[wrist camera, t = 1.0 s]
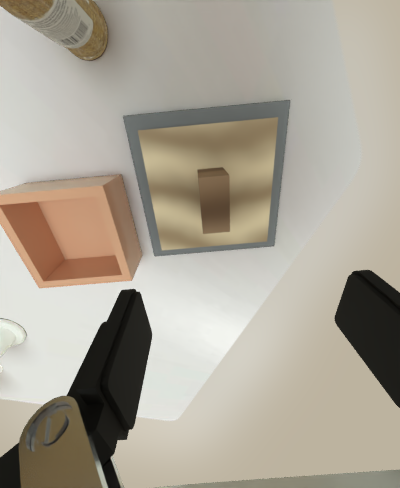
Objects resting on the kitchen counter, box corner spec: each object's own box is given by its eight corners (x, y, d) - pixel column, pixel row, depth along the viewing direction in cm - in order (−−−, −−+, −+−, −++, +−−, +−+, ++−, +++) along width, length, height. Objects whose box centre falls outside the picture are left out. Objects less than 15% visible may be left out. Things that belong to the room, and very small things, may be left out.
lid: (139, 130, 23) (123, 130, 17) (274, 117, 22) (299, 113, 17) (162, 246, 30) (156, 271, 25) (264, 238, 30) (280, 261, 24)
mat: (124, 116, 22) (122, 115, 22) (287, 100, 22) (290, 99, 22) (155, 254, 31) (154, 256, 31) (272, 244, 31) (274, 246, 30)
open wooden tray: (26, 182, 26) (-17, 196, 20) (121, 174, 25) (102, 185, 20) (65, 262, 31) (39, 288, 26) (142, 255, 31) (132, 280, 26)
